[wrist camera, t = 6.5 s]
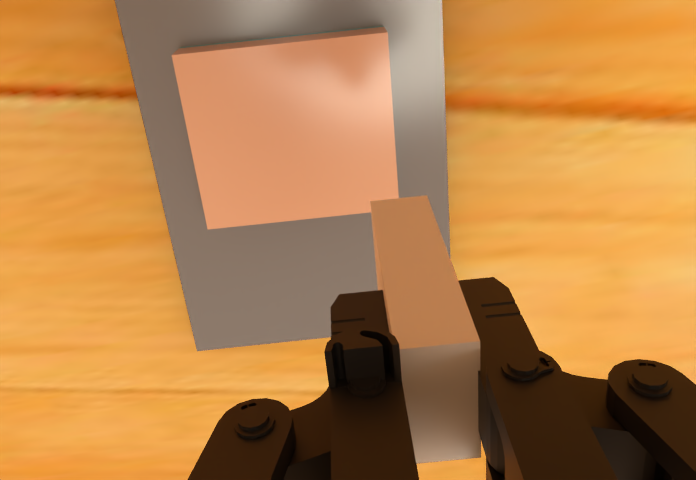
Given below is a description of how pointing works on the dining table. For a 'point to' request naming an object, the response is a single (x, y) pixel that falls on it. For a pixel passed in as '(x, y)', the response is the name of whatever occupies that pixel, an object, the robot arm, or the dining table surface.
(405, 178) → the slate board
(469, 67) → the dining table surface
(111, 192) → the dining table surface
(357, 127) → the tile
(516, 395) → the robot arm
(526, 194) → the dining table surface
